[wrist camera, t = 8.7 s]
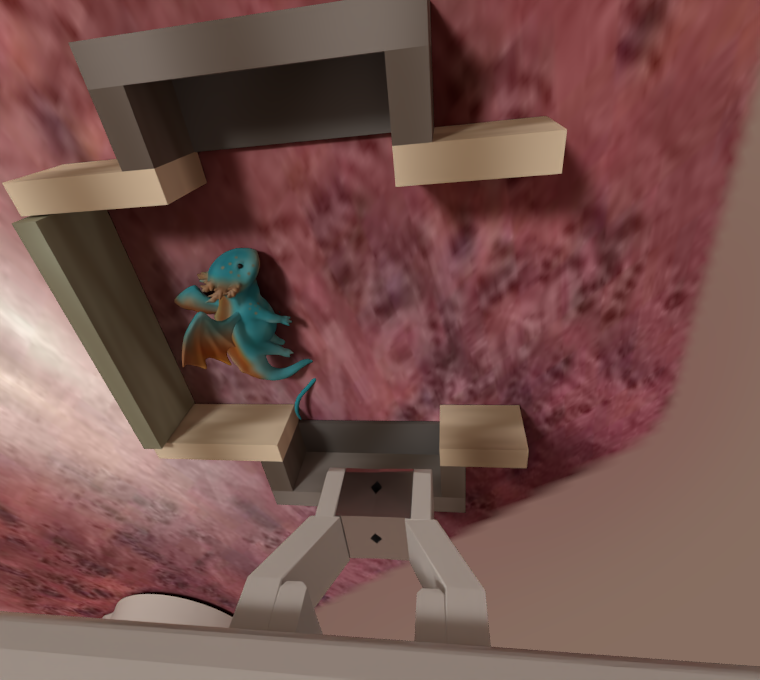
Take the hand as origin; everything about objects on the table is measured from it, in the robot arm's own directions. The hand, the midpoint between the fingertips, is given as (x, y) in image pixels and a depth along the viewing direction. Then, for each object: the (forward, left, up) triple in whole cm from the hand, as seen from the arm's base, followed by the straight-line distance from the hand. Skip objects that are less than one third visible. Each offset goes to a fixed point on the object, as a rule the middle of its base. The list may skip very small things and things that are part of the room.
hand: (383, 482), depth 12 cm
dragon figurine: (0, +7, -10) cm, 12 cm away
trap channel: (+1, +5, -9) cm, 10 cm away
